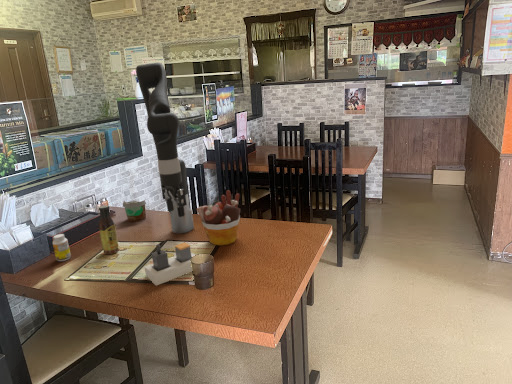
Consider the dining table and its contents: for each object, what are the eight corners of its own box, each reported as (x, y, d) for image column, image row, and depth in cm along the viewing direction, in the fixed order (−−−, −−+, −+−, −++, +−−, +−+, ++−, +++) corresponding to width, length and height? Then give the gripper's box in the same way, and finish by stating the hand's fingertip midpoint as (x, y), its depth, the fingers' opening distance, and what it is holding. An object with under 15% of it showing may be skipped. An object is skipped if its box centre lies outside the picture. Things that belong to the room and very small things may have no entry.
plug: (187, 262, 147) (184, 242, 144) (192, 265, 143) (189, 245, 141) (177, 265, 144) (174, 245, 142) (182, 269, 141) (179, 248, 139)
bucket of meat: (229, 252, 155) (224, 204, 150) (194, 247, 162) (189, 201, 157) (251, 233, 173) (247, 190, 167) (218, 230, 180) (214, 188, 174)
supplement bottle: (56, 258, 162) (51, 235, 159) (71, 254, 164) (66, 232, 162) (56, 263, 157) (50, 239, 154) (71, 259, 159) (66, 236, 157)
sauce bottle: (114, 255, 160) (105, 209, 155) (100, 255, 162) (91, 209, 156) (122, 248, 167) (114, 204, 161) (109, 248, 168) (100, 204, 163)
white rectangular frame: (190, 260, 150) (186, 231, 147) (202, 268, 143) (198, 237, 140) (145, 276, 140) (140, 245, 137) (156, 285, 133) (150, 253, 130)
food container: (120, 222, 200) (117, 204, 197) (126, 218, 206) (123, 200, 203) (143, 222, 198) (140, 203, 195) (148, 218, 203) (145, 199, 201)
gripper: (189, 171, 135) (194, 215, 140) (170, 165, 146) (176, 206, 151) (169, 176, 131) (175, 221, 136) (151, 169, 142) (158, 211, 147)
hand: (176, 213), depth 143 cm, fingers open, 8 cm apart
